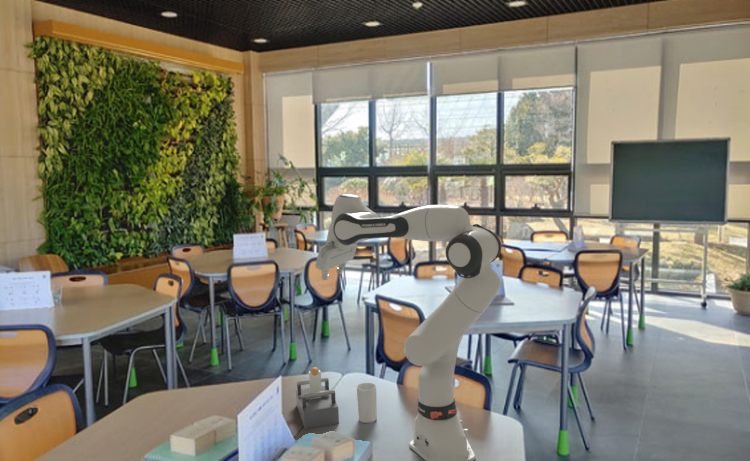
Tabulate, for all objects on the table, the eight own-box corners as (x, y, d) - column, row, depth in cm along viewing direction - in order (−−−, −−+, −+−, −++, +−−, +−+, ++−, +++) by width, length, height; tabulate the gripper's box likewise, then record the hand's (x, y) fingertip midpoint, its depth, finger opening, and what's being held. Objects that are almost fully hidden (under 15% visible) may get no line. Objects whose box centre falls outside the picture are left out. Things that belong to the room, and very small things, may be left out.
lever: (322, 398, 202) (321, 368, 201) (310, 399, 201) (308, 369, 200) (321, 394, 205) (319, 365, 204) (309, 396, 204) (307, 366, 203)
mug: (375, 424, 194) (373, 390, 193) (356, 423, 196) (354, 390, 194) (380, 411, 204) (379, 379, 203) (362, 410, 206) (361, 378, 204)
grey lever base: (339, 423, 196) (337, 393, 195) (304, 429, 193) (302, 399, 192) (328, 400, 215) (326, 373, 214) (296, 405, 212) (295, 378, 211)
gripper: (331, 248, 182) (323, 286, 186) (362, 237, 200) (354, 272, 204) (315, 241, 185) (307, 279, 189) (347, 231, 203) (339, 266, 207)
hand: (332, 276), depth 197 cm, fingers open, 8 cm apart
